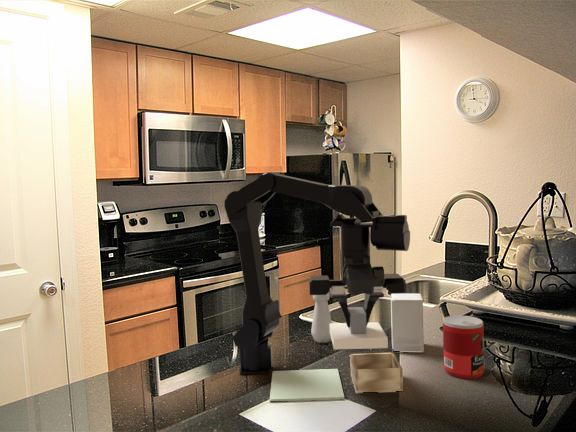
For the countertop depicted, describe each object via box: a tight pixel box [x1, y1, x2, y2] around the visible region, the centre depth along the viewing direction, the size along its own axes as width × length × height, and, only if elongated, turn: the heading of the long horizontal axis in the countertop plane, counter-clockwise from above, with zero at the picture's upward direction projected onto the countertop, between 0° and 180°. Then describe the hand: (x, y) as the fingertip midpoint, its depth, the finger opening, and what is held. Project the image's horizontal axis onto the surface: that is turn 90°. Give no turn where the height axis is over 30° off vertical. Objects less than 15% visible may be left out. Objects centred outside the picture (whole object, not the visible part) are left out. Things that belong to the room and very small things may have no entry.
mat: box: [269, 368, 345, 402], centre depth 99 cm, size 14×14×1 cm
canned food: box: [442, 314, 485, 380], centre depth 102 cm, size 8×8×11 cm
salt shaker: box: [310, 291, 333, 344], centre depth 126 cm, size 6×6×13 cm
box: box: [349, 352, 404, 394], centre depth 98 cm, size 9×9×4 cm
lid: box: [330, 306, 389, 350], centre depth 98 cm, size 10×10×6 cm
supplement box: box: [390, 293, 425, 352], centre depth 118 cm, size 7×7×13 cm
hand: (356, 326), depth 98 cm, fingers closed on lid, 3 cm apart
